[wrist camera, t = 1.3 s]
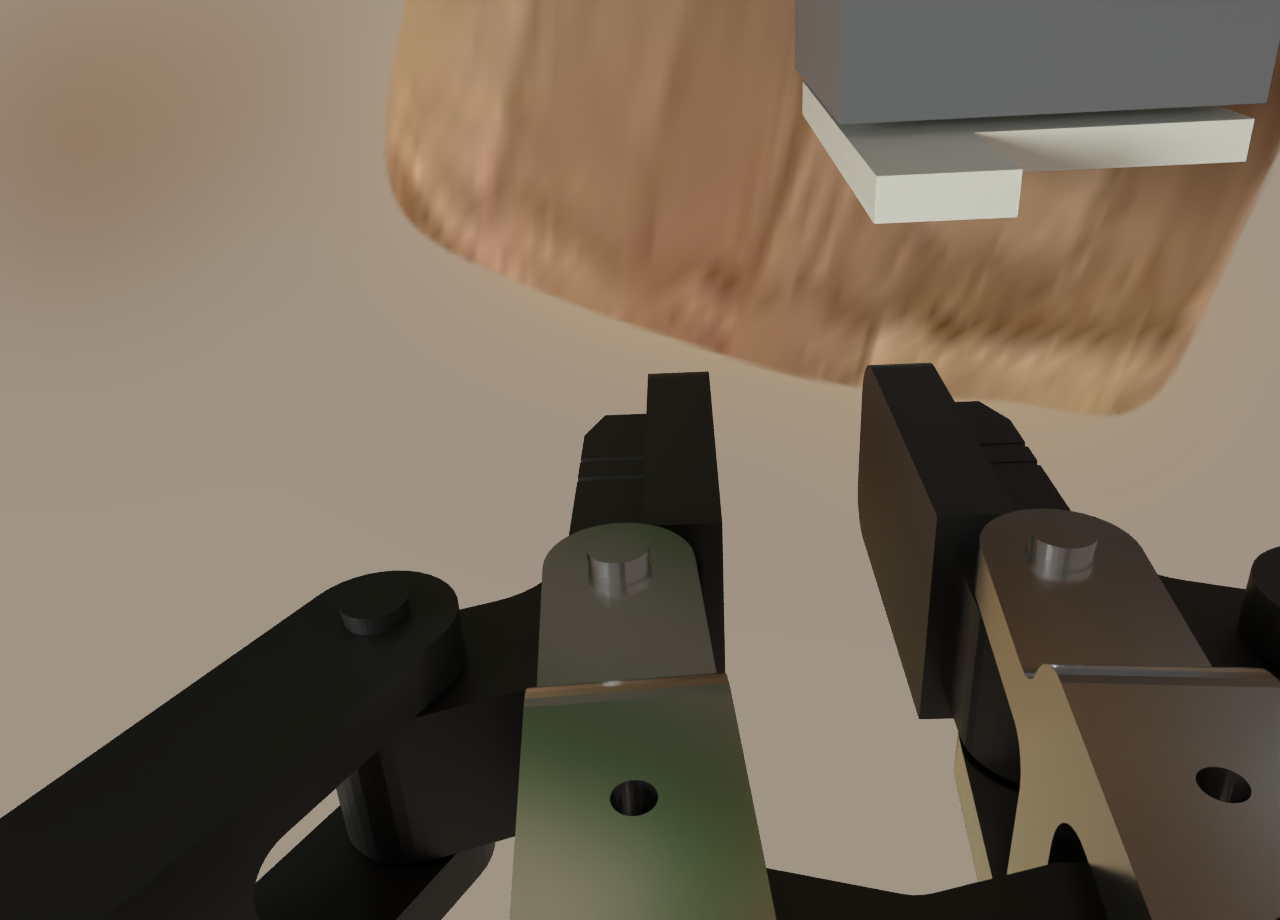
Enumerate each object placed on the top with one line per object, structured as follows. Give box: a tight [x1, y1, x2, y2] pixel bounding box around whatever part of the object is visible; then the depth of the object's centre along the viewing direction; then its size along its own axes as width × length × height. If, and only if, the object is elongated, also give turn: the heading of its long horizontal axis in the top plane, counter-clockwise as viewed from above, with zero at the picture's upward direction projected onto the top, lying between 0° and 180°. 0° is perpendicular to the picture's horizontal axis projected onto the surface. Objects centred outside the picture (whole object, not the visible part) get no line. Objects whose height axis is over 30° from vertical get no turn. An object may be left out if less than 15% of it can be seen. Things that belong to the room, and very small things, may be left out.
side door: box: [802, 81, 1255, 224], centre depth 28 cm, size 1×10×14 cm, turn 93°
